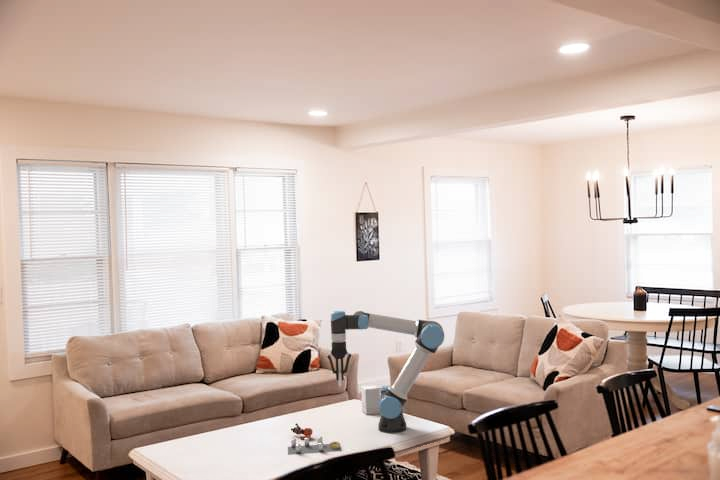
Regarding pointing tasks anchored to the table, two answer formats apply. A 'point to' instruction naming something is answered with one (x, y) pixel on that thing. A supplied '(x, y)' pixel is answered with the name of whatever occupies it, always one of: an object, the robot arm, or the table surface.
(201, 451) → the table surface
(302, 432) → the figurine
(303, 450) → the mat
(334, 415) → the table surface
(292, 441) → the spacer field
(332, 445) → the nut
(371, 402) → the supplement box
